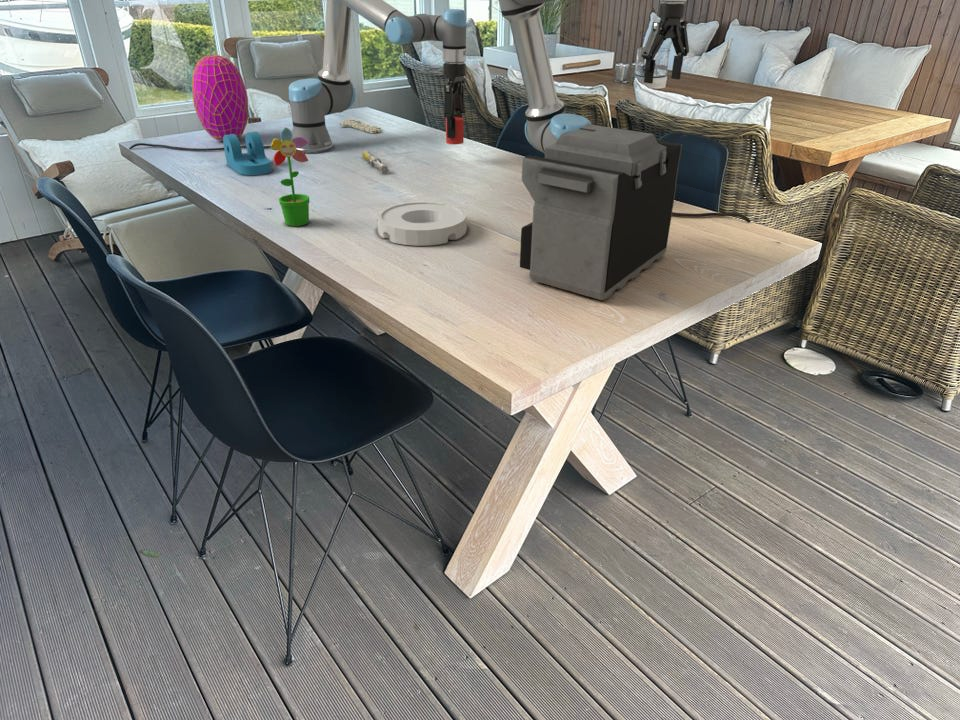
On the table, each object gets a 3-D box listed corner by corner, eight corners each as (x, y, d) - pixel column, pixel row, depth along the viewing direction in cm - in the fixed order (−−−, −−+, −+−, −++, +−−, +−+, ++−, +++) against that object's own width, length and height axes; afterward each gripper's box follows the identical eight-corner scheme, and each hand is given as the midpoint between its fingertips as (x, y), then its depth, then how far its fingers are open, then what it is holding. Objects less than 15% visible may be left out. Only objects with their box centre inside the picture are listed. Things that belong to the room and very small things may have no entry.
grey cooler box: (589, 234, 178) (601, 114, 162) (670, 254, 167) (691, 126, 151) (511, 281, 152) (516, 142, 137) (601, 307, 141) (617, 160, 126)
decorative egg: (239, 132, 274) (226, 50, 259) (262, 141, 262) (250, 56, 247) (192, 139, 263) (176, 54, 248) (214, 149, 251) (198, 60, 236)
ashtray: (385, 214, 190) (384, 200, 188) (468, 216, 189) (468, 202, 187) (371, 244, 170) (369, 229, 168) (464, 246, 170) (464, 231, 167)
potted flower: (284, 229, 179) (270, 130, 166) (277, 220, 185) (263, 124, 172) (319, 224, 183) (308, 127, 170) (311, 215, 188) (300, 121, 176)
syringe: (360, 156, 244) (360, 148, 243) (371, 155, 246) (370, 147, 244) (377, 174, 224) (377, 166, 223) (389, 173, 226) (388, 165, 224)
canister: (467, 142, 236) (467, 118, 232) (456, 145, 232) (456, 121, 228) (453, 139, 239) (453, 116, 235) (442, 142, 235) (442, 118, 231)
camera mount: (227, 164, 233) (221, 132, 227) (257, 160, 238) (252, 129, 233) (244, 176, 220) (239, 143, 215) (276, 172, 225) (271, 139, 220)
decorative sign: (331, 121, 290) (351, 118, 296) (331, 123, 291) (352, 120, 296) (366, 132, 273) (387, 128, 279) (366, 134, 274) (387, 131, 280)
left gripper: (455, 67, 214) (455, 142, 226) (474, 59, 229) (474, 130, 241) (432, 65, 216) (434, 140, 228) (453, 58, 231) (454, 129, 243)
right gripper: (687, 0, 208) (676, 75, 219) (635, 3, 195) (626, 83, 205) (708, 2, 204) (696, 78, 214) (656, 4, 190) (646, 86, 200)
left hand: (454, 135), depth 234 cm, fingers closed on canister, 6 cm apart
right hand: (661, 81), depth 210 cm, fingers open, 13 cm apart
